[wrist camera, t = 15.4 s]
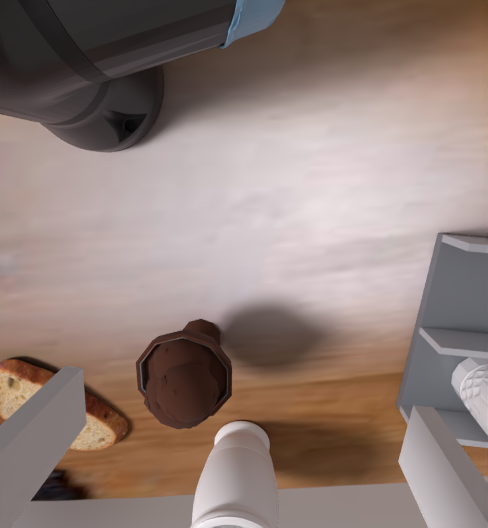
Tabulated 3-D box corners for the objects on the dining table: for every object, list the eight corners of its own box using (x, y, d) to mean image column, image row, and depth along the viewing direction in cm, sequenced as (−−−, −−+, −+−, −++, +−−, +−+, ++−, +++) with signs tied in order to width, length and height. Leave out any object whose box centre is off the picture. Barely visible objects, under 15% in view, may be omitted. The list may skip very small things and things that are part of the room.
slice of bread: (135, 437, 50) (125, 457, 47) (35, 455, 53) (18, 475, 49) (92, 337, 46) (77, 350, 42) (-14, 361, 48) (-37, 376, 45)
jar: (231, 401, 47) (215, 502, 32) (290, 436, 48) (300, 549, 33) (195, 448, 49) (166, 560, 35) (251, 480, 50) (245, 602, 36)
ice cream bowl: (173, 290, 43) (124, 348, 28) (251, 318, 43) (243, 390, 28) (153, 355, 46) (100, 439, 31) (227, 381, 46) (208, 475, 31)
